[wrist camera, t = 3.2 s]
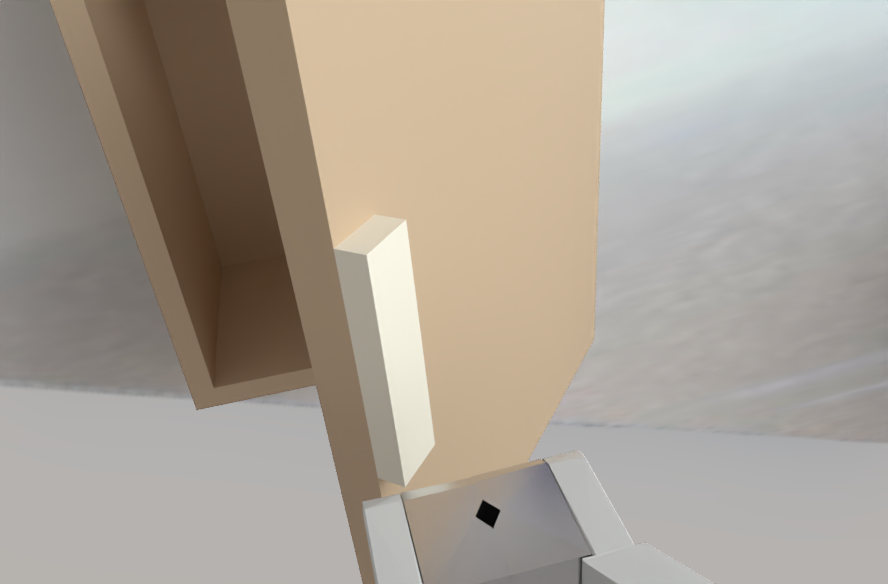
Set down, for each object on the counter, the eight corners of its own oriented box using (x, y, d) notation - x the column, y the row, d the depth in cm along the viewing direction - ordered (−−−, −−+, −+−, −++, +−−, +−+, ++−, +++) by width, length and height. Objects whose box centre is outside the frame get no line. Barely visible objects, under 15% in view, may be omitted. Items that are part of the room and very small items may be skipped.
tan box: (471, -220, 27) (571, -247, 18) (495, 221, 36) (567, 331, 28) (70, -181, 25) (-20, -193, 16) (209, 274, 34) (196, 409, 26)
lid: (572, -248, 18) (636, -256, 18) (568, 333, 28) (610, 342, 27) (159, -278, 8) (273, -302, 7) (379, 652, 18) (437, 679, 17)
